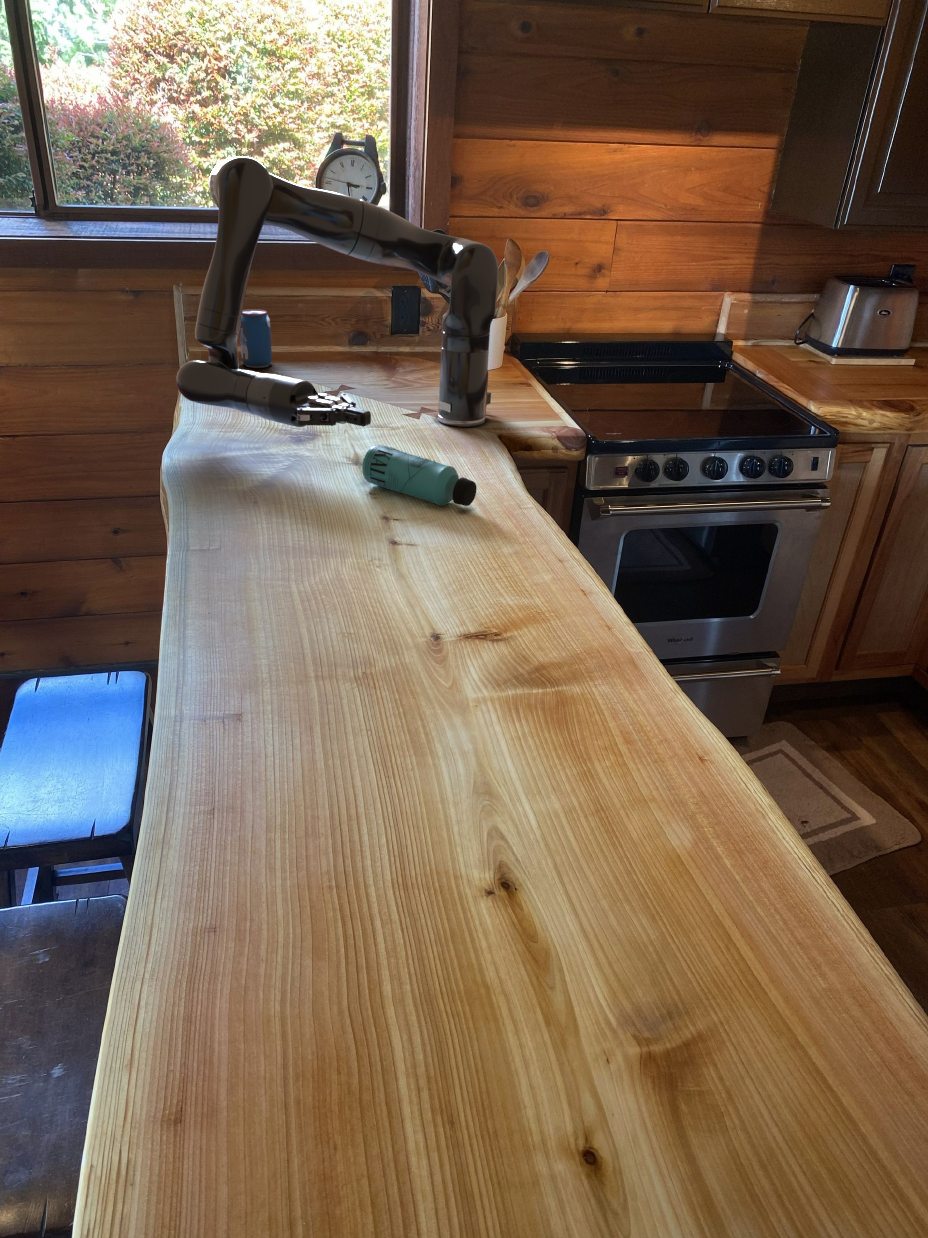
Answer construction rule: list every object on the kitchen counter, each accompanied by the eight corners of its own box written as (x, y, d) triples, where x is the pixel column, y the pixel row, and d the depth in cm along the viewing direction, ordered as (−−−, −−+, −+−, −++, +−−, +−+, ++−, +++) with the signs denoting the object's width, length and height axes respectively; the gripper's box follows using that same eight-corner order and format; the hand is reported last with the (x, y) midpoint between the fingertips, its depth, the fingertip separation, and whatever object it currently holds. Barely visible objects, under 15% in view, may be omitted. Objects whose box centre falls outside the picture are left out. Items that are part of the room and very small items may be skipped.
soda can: (277, 363, 213) (274, 310, 207) (264, 369, 207) (261, 315, 201) (249, 360, 214) (246, 307, 208) (236, 366, 208) (233, 312, 202)
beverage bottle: (381, 463, 148) (485, 495, 140) (358, 489, 145) (463, 523, 137) (372, 432, 143) (480, 463, 135) (348, 458, 140) (457, 491, 132)
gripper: (253, 384, 141) (342, 404, 134) (306, 369, 151) (392, 386, 144) (256, 431, 145) (343, 452, 137) (308, 413, 155) (391, 432, 147)
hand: (368, 419), depth 141 cm, fingers closed
